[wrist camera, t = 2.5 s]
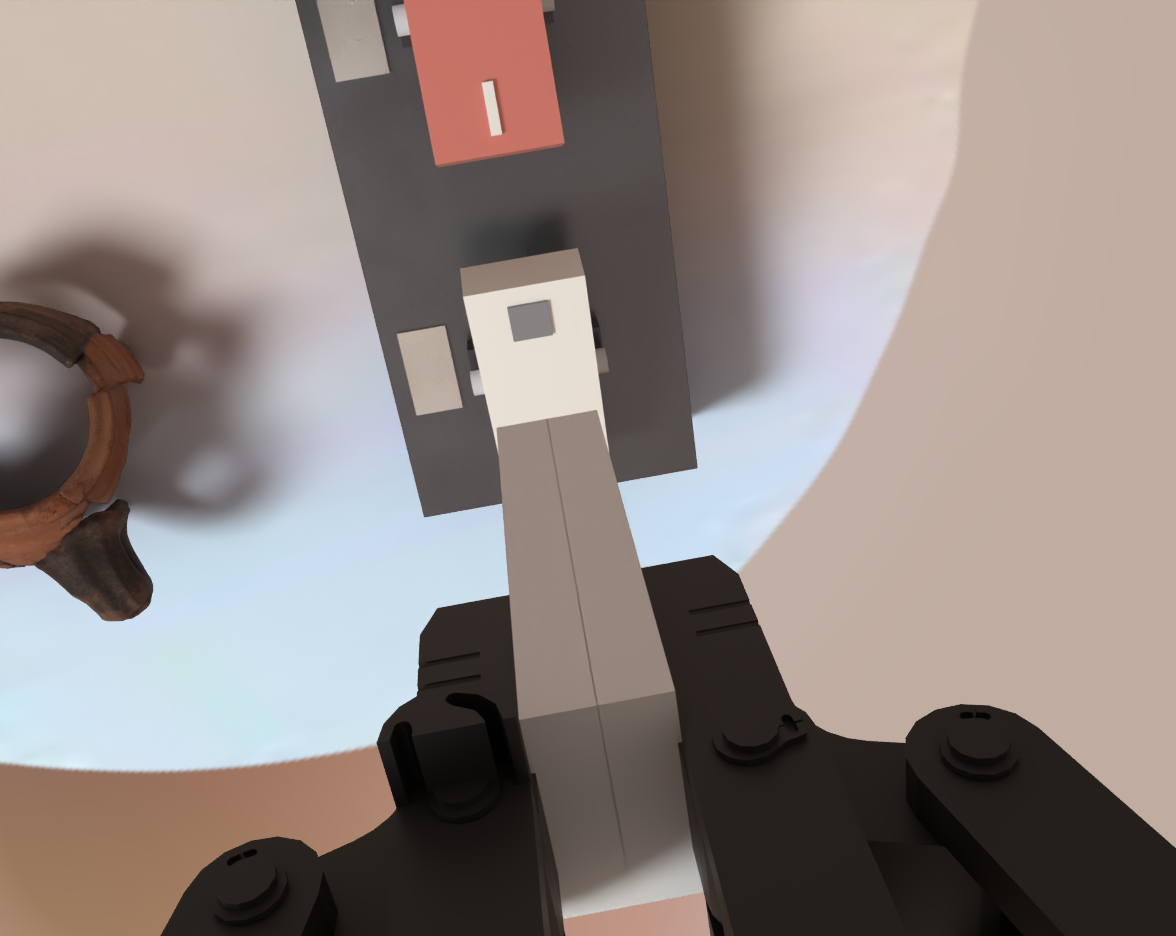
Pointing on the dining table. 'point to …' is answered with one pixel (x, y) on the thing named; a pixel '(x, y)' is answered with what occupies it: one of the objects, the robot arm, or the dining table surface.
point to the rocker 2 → (533, 338)
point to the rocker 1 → (483, 76)
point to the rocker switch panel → (508, 234)
